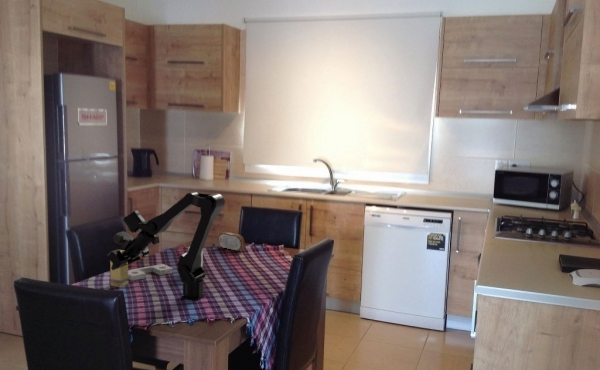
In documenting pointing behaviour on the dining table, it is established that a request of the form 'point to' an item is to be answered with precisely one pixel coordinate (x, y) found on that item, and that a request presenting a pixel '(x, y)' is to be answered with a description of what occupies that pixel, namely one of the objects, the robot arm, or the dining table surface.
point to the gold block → (119, 275)
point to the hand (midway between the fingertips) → (116, 267)
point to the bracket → (141, 272)
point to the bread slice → (231, 241)
